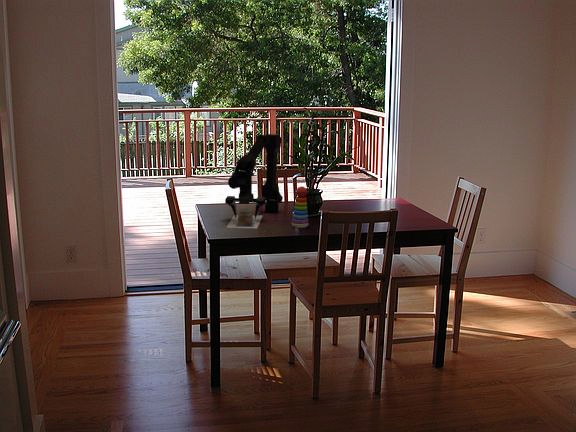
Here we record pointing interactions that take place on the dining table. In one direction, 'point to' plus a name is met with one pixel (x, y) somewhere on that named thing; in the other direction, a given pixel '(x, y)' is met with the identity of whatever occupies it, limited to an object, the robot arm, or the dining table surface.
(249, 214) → the walnut block
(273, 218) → the dining table surface
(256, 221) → the build board
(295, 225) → the stacking toy
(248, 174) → the robot arm
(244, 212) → the sage block
